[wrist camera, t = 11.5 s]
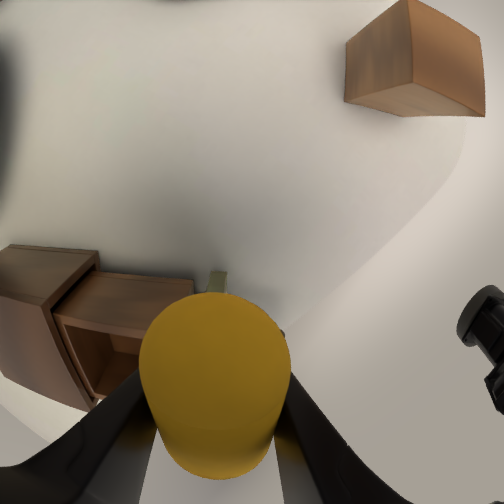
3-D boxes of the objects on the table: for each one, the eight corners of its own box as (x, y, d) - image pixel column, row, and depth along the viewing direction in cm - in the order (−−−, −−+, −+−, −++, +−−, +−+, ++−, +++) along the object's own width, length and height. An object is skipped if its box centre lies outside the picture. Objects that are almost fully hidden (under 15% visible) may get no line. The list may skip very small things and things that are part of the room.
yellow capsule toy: (154, 260, 7) (95, 356, 4) (290, 270, 7) (322, 376, 4) (177, 410, 10) (164, 483, 6) (263, 416, 10) (267, 491, 7)
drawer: (282, 274, 20) (295, 333, 14) (268, 368, 24) (272, 427, 18) (91, 261, 20) (47, 305, 14) (114, 352, 24) (91, 402, 18)
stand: (346, 42, 14) (406, -6, 6) (403, 60, 14) (479, 36, 6) (343, 102, 16) (412, 82, 8) (402, 117, 16) (485, 117, 8)
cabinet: (97, 250, 20) (40, 306, 12) (121, 351, 25) (92, 414, 17) (10, 244, 20) (-42, 281, 12) (38, 331, 24) (4, 376, 17)
